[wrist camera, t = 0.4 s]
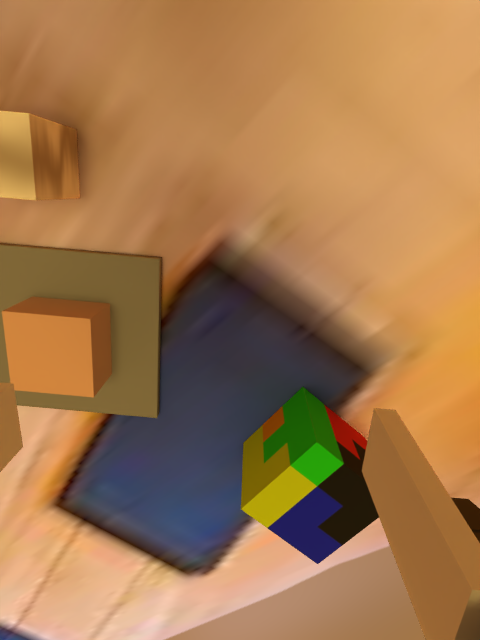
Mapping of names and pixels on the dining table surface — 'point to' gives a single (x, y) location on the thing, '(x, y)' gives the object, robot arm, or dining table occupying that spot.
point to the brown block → (37, 158)
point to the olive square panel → (125, 317)
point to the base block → (58, 346)
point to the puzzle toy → (307, 477)
